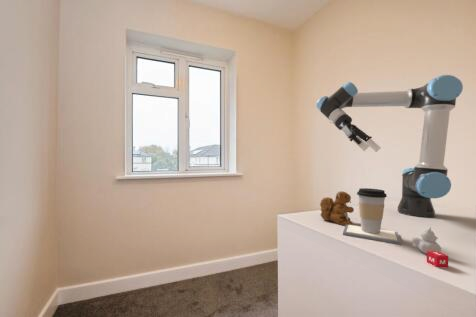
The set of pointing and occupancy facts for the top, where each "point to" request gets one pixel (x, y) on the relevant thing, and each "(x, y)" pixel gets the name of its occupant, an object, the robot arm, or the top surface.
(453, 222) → the top surface
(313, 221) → the top surface
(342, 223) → the stuffed squirrel
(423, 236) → the light grey lumpy piece
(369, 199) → the coffee cup
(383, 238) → the picture frame
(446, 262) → the dice
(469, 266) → the top surface
